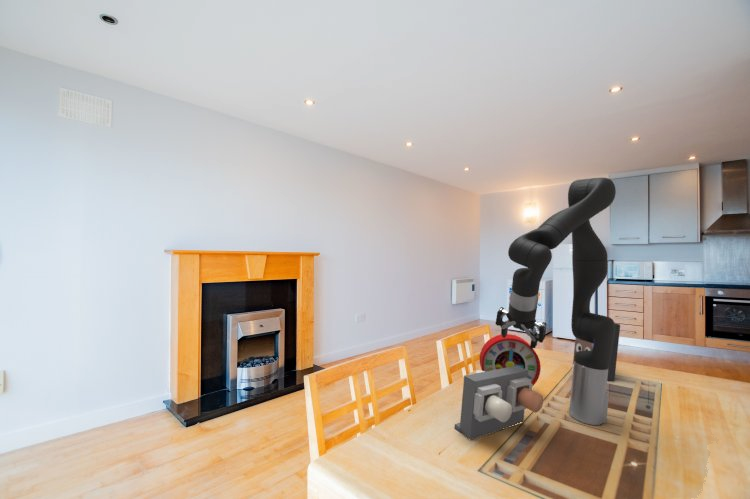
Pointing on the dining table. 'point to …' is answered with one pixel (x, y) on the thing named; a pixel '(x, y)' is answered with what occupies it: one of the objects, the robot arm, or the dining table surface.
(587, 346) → the cereal box
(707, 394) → the dining table surface
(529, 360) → the toy clock
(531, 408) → the terracotta button
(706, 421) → the dining table surface
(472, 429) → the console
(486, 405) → the cream button
